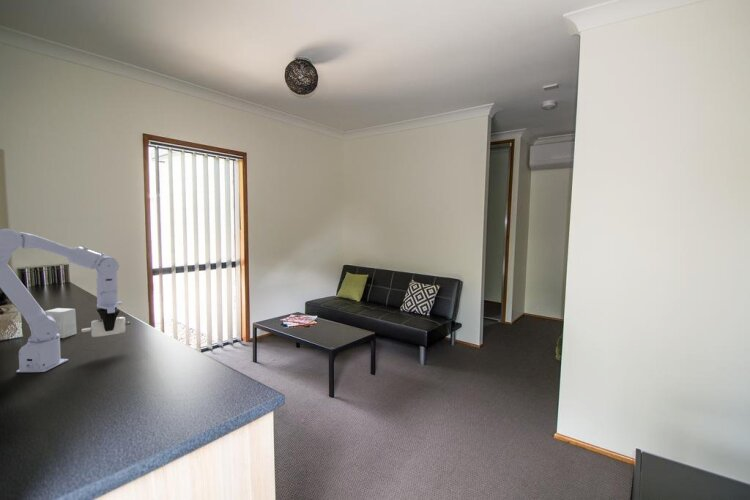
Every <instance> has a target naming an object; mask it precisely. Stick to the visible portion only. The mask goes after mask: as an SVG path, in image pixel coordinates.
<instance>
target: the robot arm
mask: <svg viewBox="0 0 750 500" xmlns="http://www.w3.org/2000/svg"><path fill="white" fill-rule="evenodd" d="M21 246H22V249H23V250H24V249H39V250H43V251H46V252H48V253H49V252H50V253H53V254H57V255H59V256H63V257H66V258H67V260H68V262H69V263H71V264H75V265H78V266H79V267H84V268H87V269H90V270H96V303H97V304H96V309H95V310H96V311H97V313H98V315H99V317H100V320H101V319H102V320H103V324H104V328H105V331H112V330H113V329H114V325H115V321H116V318H117V317H118V315H119V314H120V310H119V309H118V308H117V307H118V306H119V305H123V302H122V301H119V293H118V292H119V291H118V290H119V289H118V288H119V287H118V276H117V275H118V271H119V269H120V264H119V262H118V261H117V260H116V258H113V257H111V256H109V255H106V253H104V252H96V251H94V250H91V249H90V248H89V247H87V246H85V245H83V247H82V246H75V247H70V246H67V245H63V244H61V243H59V242H56V241H54V240H51V239H47V238H45V237H42V236H40V235H39V236H38V235H37V234H32V233H27V232H22V231H19V232H17V231H16V230H14V229H11V228H0V289H1V291H2V292H3V293H4V294H5V296H6V297H7V298H8V299H9V300H10V302H11V303H12V304H13V306H14V307H15V308H16V309H17V310H18V312H19V313H20V315H22V317H23V319H24V320H25V322H26V323H27V324H28V327H29V330H30V333H31V334H30V336H29V337H28V340H27V343H26V344H24V345H23V346H21V348H20V349H19V350H18V365H19V367H18V369H17V370H16V373H45V372H47V371H50V370H51V369H53V368H55V367H57V366H59V365H61V364H64V363H65V362H67V361H69V358H61V338H60V334H59V333H58V331H59V325H58V324H57V323H56V320H55V318H54V317H53V316H51V315H48V314H46V313H45V312H44V311H45V310H44V309H43V308H42V307H41V305H40V304H39V302H38V301H37V300H36V299H35V298H34V296H33V295H32V293H31V292H30V291H29V290H28V288H27V287H26V286H25V285H24V284H23V282H22V280H21V279H20V278H19V277H18V275H17V274H16V272H15V271H14V270H13V269H12V267H11V266H10V265H9V264H8V263H9V261H10V259H11V258H12V255H13V254H14V253H15V252H16V251H17V250H18V249H19V248H20V247H21Z"/></svg>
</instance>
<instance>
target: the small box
mask: <svg viewBox="0 0 750 500" xmlns="http://www.w3.org/2000/svg"><path fill="white" fill-rule="evenodd" d="M44 312H45V313H46V314H48V315H51V316H53V317H54V318H55V320H56V323H57V324H58V325H59V331H58V333H59V334H60V339H65V338H68V337H72V336H75V335H77V318H76V317H77V315H76V308H67V307H66V308H64V307H55V308H52V309H48V310H44Z"/></svg>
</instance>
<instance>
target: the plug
mask: <svg viewBox="0 0 750 500" xmlns="http://www.w3.org/2000/svg"><path fill="white" fill-rule="evenodd" d="M90 323H91V325H90V327H85V328H81V333H85V332H90V333H91V337H92V338H98V337H104V336H105V337H106V336H111V335H116V334H117V335H118V334H122V333H123V334H124V333H125V332H126V327H127V326H131V321H127V322H126V317H125V316H117V318H116V321H115V325H114V329H113V330H112V331H105V328H104V324H103V320H102V319H101V318H100V319H94V320H92V321H91V322H90Z"/></svg>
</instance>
